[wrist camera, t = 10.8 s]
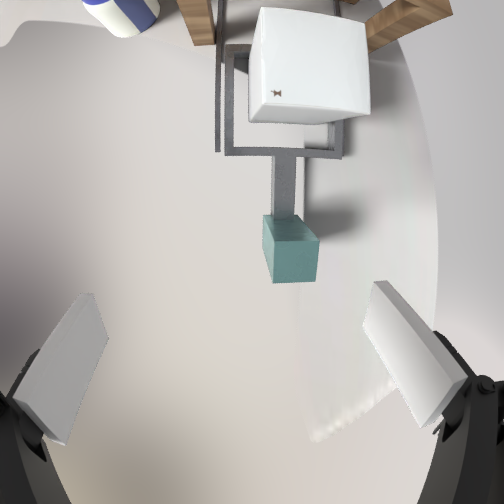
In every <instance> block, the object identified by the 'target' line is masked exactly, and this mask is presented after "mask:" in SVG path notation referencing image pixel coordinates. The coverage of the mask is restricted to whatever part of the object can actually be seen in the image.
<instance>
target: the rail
mask: <svg viewBox="0 0 504 504" xmlns="http://www.w3.org/2000/svg"><path fill="white" fill-rule="evenodd" d="M333 3H334V13H335V16H336V17H340V10H339V2H338V0H333ZM222 14H223V0H218V17H217V41H216V81H215V82H216V83H215V152H220V88H221V86H220V85H221V41H222ZM344 122H345V119H343V135H342V156H344Z"/></svg>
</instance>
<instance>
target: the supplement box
mask: <svg viewBox="0 0 504 504" xmlns="http://www.w3.org/2000/svg"><path fill="white" fill-rule="evenodd" d="M248 77H249V79H248V81H249V82H248V86H249V87H248V89H249V91H248V93H249V94H248V95H249V97H248V103H249V105H248V106H249V107H248V108H249V109H248V113H249V122H251V123H252V122H253V123H287V124H305V125H317V124H322V123H326V122H331V121H336V120H340V119H346V118H351V117H357V116H363V115H370V114H371V99H370V73H369V59H368V47H367V38H366V29H365V23H361V22H357V21H353V20H350V19H345V18H340V17H336V16H330V15H325V14H320V13H314V12H308V11H301V10H294V9H285V8H274V7H261V9H260V12H259V16H258V20H257V25H256V29H255V34H254V38H253V43H252V47H251V52H250V57H249V75H248Z"/></svg>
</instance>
